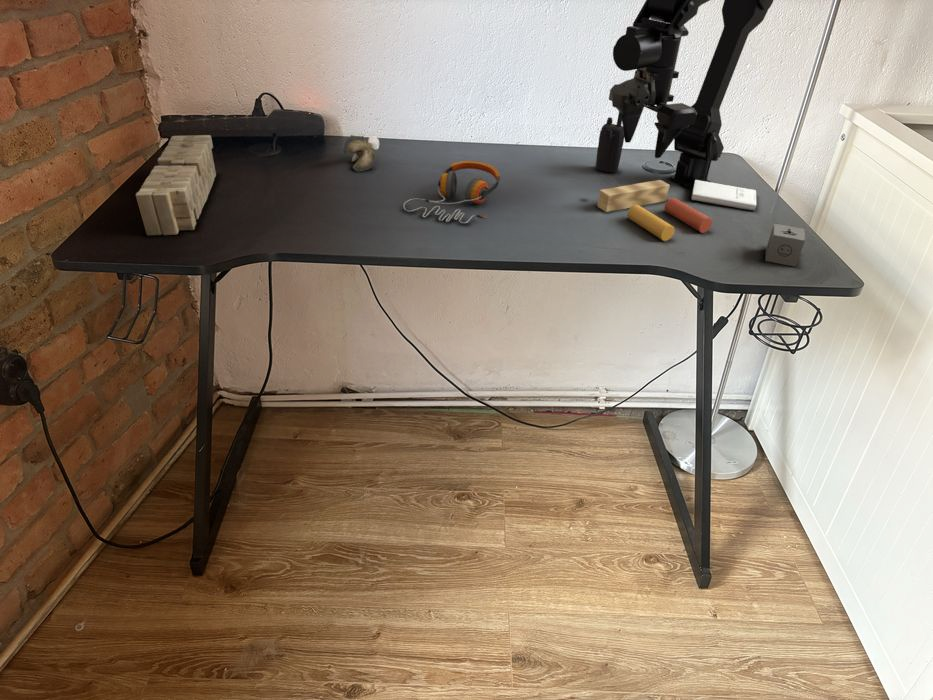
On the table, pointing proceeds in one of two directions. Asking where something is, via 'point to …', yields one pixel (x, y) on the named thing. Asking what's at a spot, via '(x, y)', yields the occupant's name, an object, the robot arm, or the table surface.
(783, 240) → the dice cube
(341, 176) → the table surface
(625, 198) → the light wooden bar
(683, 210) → the terracotta rod
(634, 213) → the ochre rod
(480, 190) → the headphones
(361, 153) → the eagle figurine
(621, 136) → the two-way radio
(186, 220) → the block tower
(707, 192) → the hard drive
